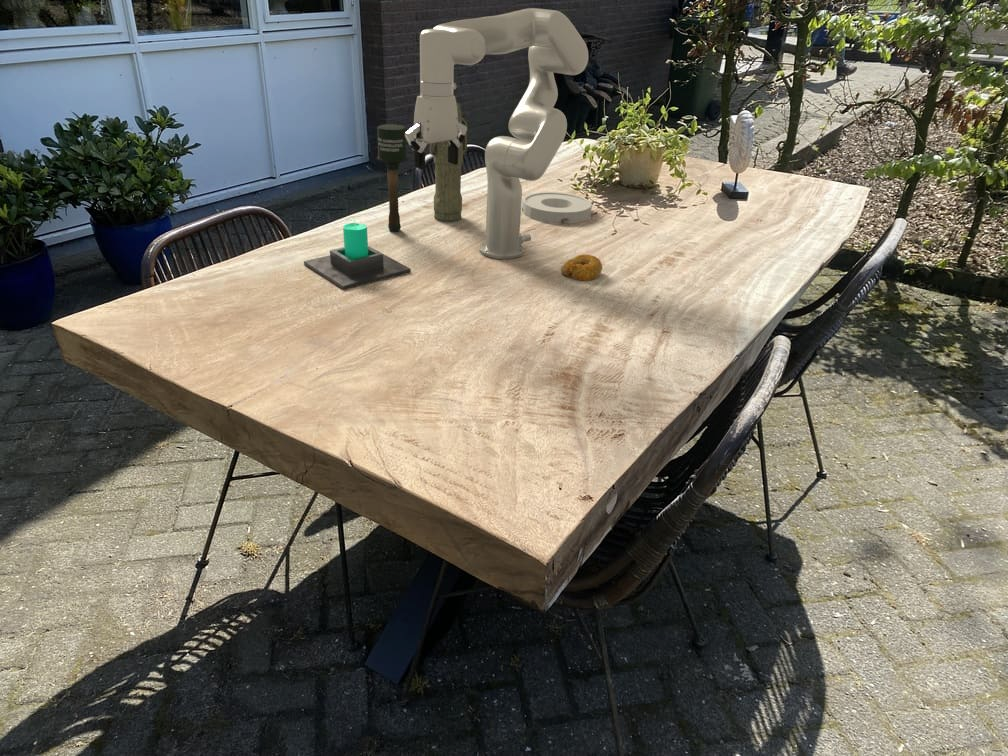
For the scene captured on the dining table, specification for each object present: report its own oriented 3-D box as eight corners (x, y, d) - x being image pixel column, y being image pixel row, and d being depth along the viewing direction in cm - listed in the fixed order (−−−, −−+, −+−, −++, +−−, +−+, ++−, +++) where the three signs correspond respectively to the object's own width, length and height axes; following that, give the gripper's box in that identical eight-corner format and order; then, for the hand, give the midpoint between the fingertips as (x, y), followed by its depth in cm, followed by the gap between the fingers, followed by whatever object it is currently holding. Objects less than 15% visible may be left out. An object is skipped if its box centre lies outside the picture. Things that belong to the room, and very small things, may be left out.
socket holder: (369, 249, 197) (368, 234, 195) (410, 272, 184) (410, 256, 182) (304, 264, 185) (302, 248, 183) (343, 289, 173) (342, 272, 170)
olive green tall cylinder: (471, 219, 225) (474, 103, 207) (438, 224, 219) (439, 105, 201) (456, 211, 231) (458, 98, 213) (425, 216, 225) (424, 100, 207)
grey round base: (545, 199, 250) (546, 188, 248) (602, 213, 238) (604, 201, 236) (507, 213, 233) (508, 201, 231) (567, 229, 222) (568, 217, 220)
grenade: (374, 232, 210) (370, 127, 195) (389, 224, 217) (386, 122, 202) (399, 237, 207) (397, 131, 192) (413, 228, 214) (412, 126, 199)
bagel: (559, 266, 194) (561, 250, 191) (599, 269, 194) (601, 252, 191) (561, 280, 185) (562, 263, 183) (602, 283, 185) (605, 266, 183)
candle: (363, 270, 181) (361, 225, 175) (341, 267, 182) (338, 222, 176) (372, 262, 186) (370, 218, 180) (351, 259, 187) (348, 215, 181)
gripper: (456, 85, 167) (455, 158, 176) (395, 89, 157) (397, 167, 166) (476, 89, 163) (474, 165, 171) (415, 94, 152) (416, 174, 161)
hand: (436, 166), depth 169 cm, fingers open, 9 cm apart
